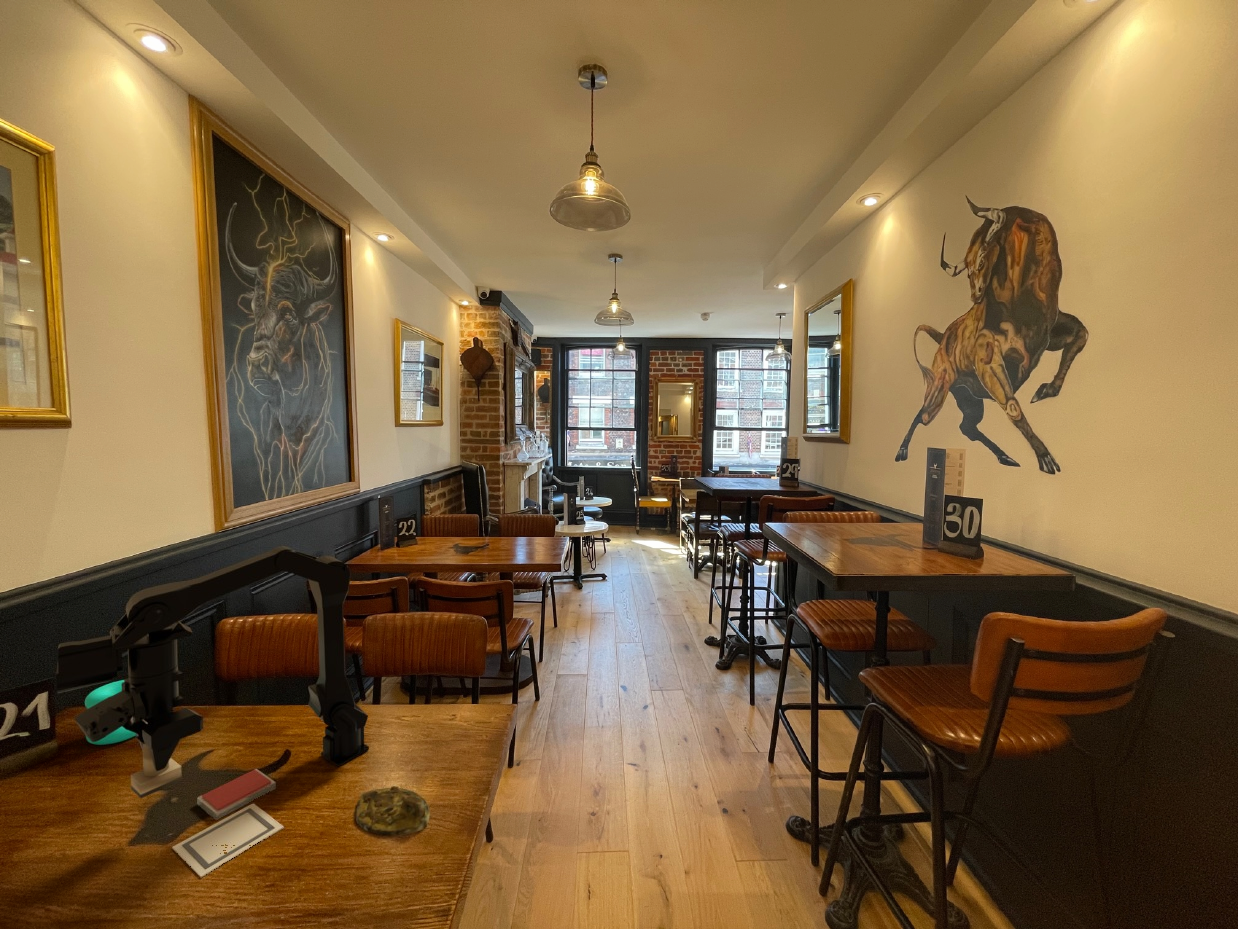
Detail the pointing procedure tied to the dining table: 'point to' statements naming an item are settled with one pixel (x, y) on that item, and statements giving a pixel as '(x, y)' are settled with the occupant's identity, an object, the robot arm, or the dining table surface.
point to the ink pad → (235, 794)
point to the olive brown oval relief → (392, 811)
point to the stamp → (154, 775)
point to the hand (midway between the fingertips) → (156, 765)
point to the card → (226, 839)
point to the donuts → (99, 696)
